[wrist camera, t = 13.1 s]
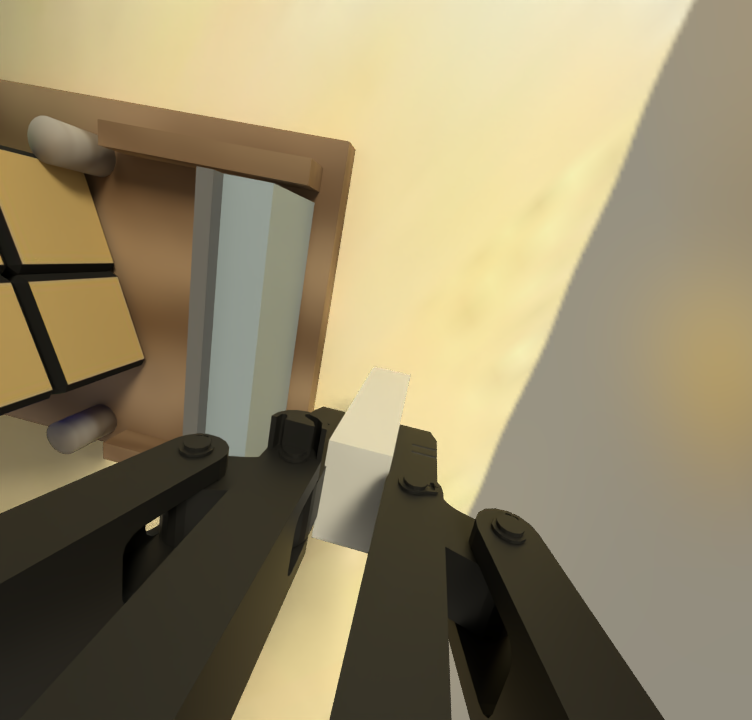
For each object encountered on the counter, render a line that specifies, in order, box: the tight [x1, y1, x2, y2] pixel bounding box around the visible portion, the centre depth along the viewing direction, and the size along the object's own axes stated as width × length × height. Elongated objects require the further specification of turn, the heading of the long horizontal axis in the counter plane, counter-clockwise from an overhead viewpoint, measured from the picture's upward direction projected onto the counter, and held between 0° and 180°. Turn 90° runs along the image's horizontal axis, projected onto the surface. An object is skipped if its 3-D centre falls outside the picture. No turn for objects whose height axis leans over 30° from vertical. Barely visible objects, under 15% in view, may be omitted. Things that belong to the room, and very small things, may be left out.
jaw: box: [183, 166, 315, 457], centre depth 16 cm, size 14×2×5 cm, turn 169°
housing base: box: [0, 80, 355, 463], centre depth 19 cm, size 18×24×4 cm
